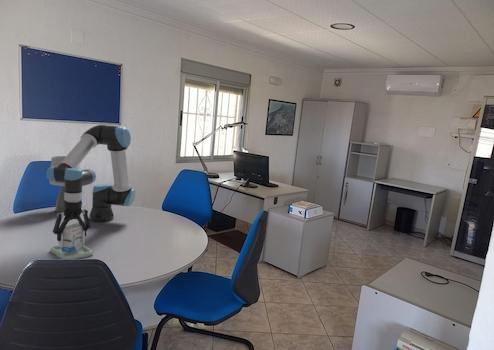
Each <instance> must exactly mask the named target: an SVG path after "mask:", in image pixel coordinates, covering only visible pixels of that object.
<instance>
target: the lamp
mask: <svg viewBox="0 0 494 350" xmlns="http://www.w3.org/2000/svg"><path fill="white" fill-rule="evenodd" d="M66 156H67V155H65V156H64V155H63V156H61V155H59V156H58V155H57V156H52V157H51V160H50V161H51V163H50V167H57V166H58V165H59V164H60V163H61V162H62V161H63V159H64V158H65V157H66ZM80 164H81V163H80ZM80 164H79V165H78V166H77V168H79V169H81V168H80V166H81V165H80ZM48 181H49V180H48ZM48 184H49V185H52V186H57V187H58V186H60V187H59V189H60V191H59V192H58V195H57V198H56V204H55V208H54V209H55V210H54V212H56V213H62V212H64V201H65V200H64V192H65V183H61V182H53V181H49V183H48Z"/></svg>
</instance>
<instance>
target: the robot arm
mask: <svg viewBox="0 0 494 350" xmlns="http://www.w3.org/2000/svg"><path fill="white" fill-rule="evenodd" d="M131 140H132V137H131V132H130V131H129V129H128V128H126V127H125V126H120V125H119V126H116V125H107V124H98V125H94V126H92V127H90V128H89V129H87V130H86V131H85V132H83V134H81V136H80V140H79V141H78V142H77V143H76V145H75V146H73V148H72V149H71V150H70V152H68V153H67V154H66V155H65V156H66V157H65V158H64V159H63V161H62V162H61V163H60V164H59V165H58V166H57V167H51V166H50V167H48V168H47V171H46V178H47V180H48V181H53V182H61V183H65V192H64V200H65V201H64V212H62V213H58V212H56V220H55V223H54V226H53V230H52V233H53V234H54V235H56V240H57V242H58V245H59V247H61V248H63V234H62V232H63V230H64V228H65V227H66V226H68V223H69V222H70V221H73V220H77V222H78V225H82V244H85V239H86V238H85V237H87V231H88V230H89V229H91V223H90V222H99V223H101V222H102V223H105V222H110V221H113V220H114V218H115V216H114V215H115V214H114V212H113V208H112V206H121V207H131V206H132V205H133V203H134V201H135V198H136V190H135V189H134V188H133V187H132V185H131V183H129V176H128V175H129V174H128V173H129V172H128V164H127V154H126V150H128V148H129V146H130V144H131ZM98 145H102V146H103V145H104V146H105V145H106V147H107V151H109V152H110V160H111V167H112V175H113V184H114V185H113V184H112V183H99V184H96V185H93V188H92V203H91V205H92V206H91V207H92V208H91V210H90V213H89V210H87V209H85V208H84V209H82V207H83V206H82V205H83V204H82V203H83V202H82V199H83V198H82V197H83V186H88V185H91V184H92V183H94V182H95V181H96V179H97V175H96V172H95V171H94V170H92V169H90V168H89V169H81V168H80V169H79V168H77V166H78V165H79V164H81V163H82V162H83V160H84V159H85V158H86V156H87V155H88V154H89V153H90V152H91V150H92V149H94V148H96V147H97V146H98ZM81 215H82V216H83V220H84V221H83V220H82V217H81ZM63 216H64V217H63ZM62 218H63V220H62Z"/></svg>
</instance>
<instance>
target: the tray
mask: <svg viewBox="0 0 494 350" xmlns="http://www.w3.org/2000/svg"><path fill="white" fill-rule="evenodd" d="M50 252H51V253H52V254H54V255H55V256H57V257H58V258H59V259H60V260H61V259H75V260H79V259H85V258H87V257H91V256H93V255H94V251H93V250H92V249H90V248H89V247H87V246H86V245H85V244H84V243H82V247H81V248H79V249H77V250H75V251H73V252H71V253H69V252H63V251H62V248H61V247H59V244H58V245H53V246H50Z"/></svg>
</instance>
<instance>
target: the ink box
mask: <svg viewBox="0 0 494 350" xmlns="http://www.w3.org/2000/svg"><path fill="white" fill-rule="evenodd" d="M62 234H63V248H62V251H63V252H69V253H71V252H73V251H75V250H77V249H79V248H81V247H82V244H83V243H82V225H80V224H79V223H78V224H77V223H72V224H70V225H66V227H65V228H64V230H63V232H62Z"/></svg>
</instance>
